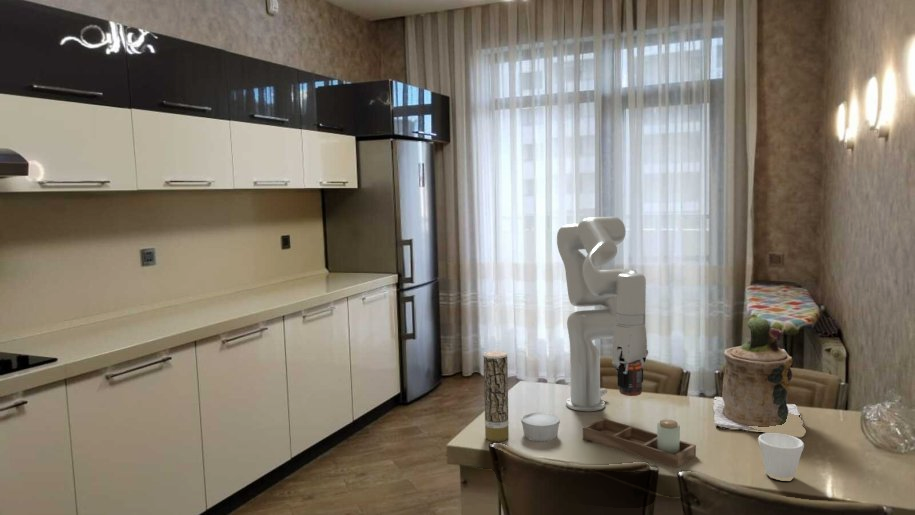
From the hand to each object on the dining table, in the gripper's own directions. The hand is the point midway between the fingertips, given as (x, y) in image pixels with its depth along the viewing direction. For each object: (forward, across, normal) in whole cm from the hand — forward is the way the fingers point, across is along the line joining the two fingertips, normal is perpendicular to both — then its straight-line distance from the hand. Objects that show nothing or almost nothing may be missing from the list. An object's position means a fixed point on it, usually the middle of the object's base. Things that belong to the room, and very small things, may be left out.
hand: (630, 383), depth 174 cm
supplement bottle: (+3, 0, 0) cm, 3 cm away
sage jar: (+18, -2, +11) cm, 21 cm away
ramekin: (+19, +10, -23) cm, 32 cm away
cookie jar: (+19, -46, +14) cm, 51 cm away
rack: (+18, -2, +1) cm, 18 cm away
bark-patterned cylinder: (+19, +20, -31) cm, 42 cm away
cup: (+18, -11, +35) cm, 41 cm away
